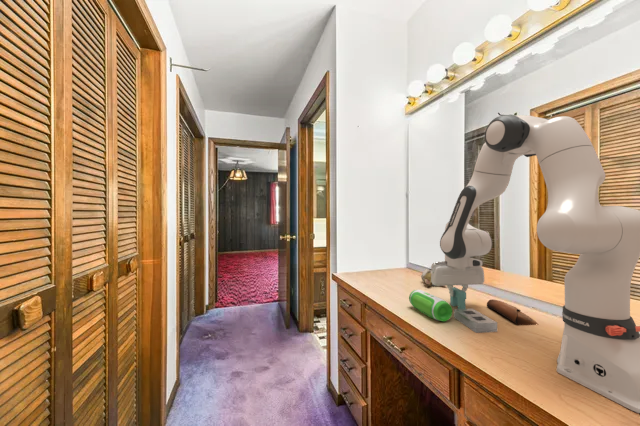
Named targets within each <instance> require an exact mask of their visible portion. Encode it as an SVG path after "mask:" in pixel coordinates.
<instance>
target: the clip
mask: <svg viewBox="0 0 640 426" xmlns="http://www.w3.org/2000/svg"><path fill="white" fill-rule="evenodd" d="M452 290H453V291H454V292H456V294H455V295H456V296H453V297H452V296H450V295H449V297H450V299H449V300H450V303H449V304H450V306H451V307H457V309H467V308H466V304H467V303H466V300H467V291H466V292H464V291H462V289H460V288H457V287H456V286H453V288H452ZM448 293H449V294H450V291H449V290H448Z"/></svg>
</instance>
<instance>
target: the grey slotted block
mask: <svg viewBox="0 0 640 426" xmlns="http://www.w3.org/2000/svg"><path fill="white" fill-rule="evenodd" d="M453 318H454V319H455V320H457V321H458V322H460V323H461V324H462V325H464V326H465V327H467V328H468V329H470V330H471V331H473V332H474V333H475V334H477V333H478V334H480V333H498V322H497V321H495V320H493V319H492V318H490V317H488V316H487V315H485V314H484V313H482V312H480V311H478V310H476V309H475V308H466V309H458V308H454V309H453Z"/></svg>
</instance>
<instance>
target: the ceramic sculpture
mask: <svg viewBox="0 0 640 426" xmlns="http://www.w3.org/2000/svg"><path fill="white" fill-rule="evenodd" d="M431 274H432V270H431V268H429V269H428V268H426V267H425V269H424V270H423V271H422V274H421V275H420V277H421V280H422V282H423V283H424V284H425V285H426V286H427V287H430V286H431V287H432V286H433V287H435V286H436V285H434V284H432V282H431Z"/></svg>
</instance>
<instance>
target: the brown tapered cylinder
mask: <svg viewBox="0 0 640 426" xmlns="http://www.w3.org/2000/svg"><path fill="white" fill-rule="evenodd" d="M486 307H487V308H488V309H491V310H493V311H495V312H496V313H498V314H500V315H502V316H503V317H505V318H506V319H508V320H509V321H512V322H513V323H514V324H516V325H517V326H539V323H538V322H537V321H536V320H534V319H533V318H532V317H530V316H529V315H528V314H526V313H524V312H523V311H521V309H519V308H518V307H515V306H513V305H512V304H509V303H507V302H504V301H501V300H497V299H489V300H488V301H487V302H486ZM536 324H537V325H536Z"/></svg>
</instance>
